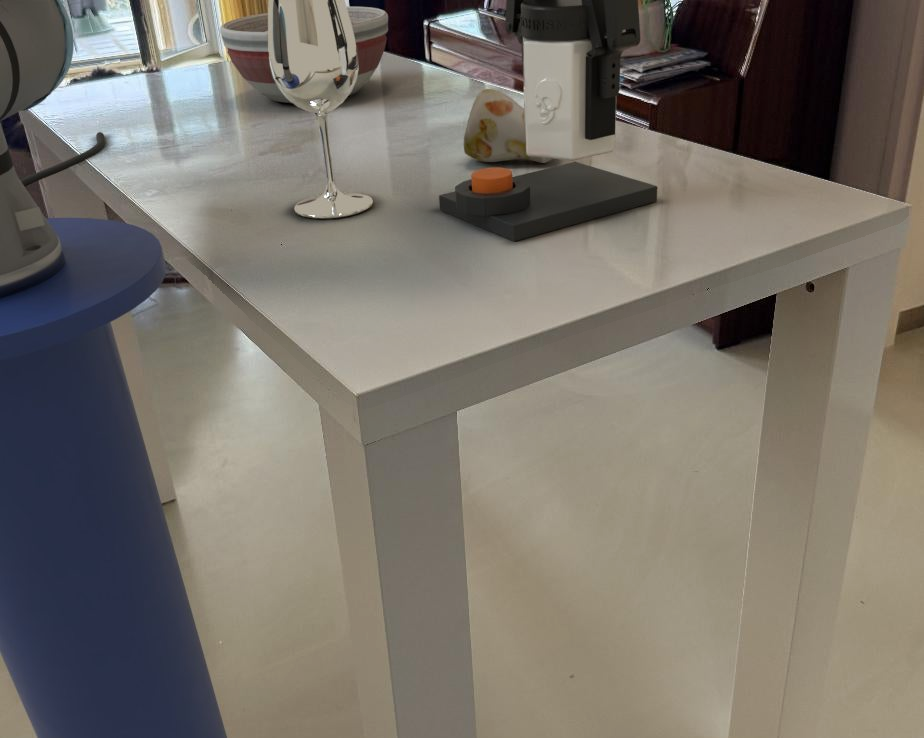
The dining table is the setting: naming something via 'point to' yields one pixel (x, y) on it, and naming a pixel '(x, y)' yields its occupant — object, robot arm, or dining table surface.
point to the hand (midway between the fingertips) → (568, 128)
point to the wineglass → (316, 81)
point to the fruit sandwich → (496, 129)
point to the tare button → (491, 180)
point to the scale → (548, 200)
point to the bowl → (252, 52)
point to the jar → (557, 80)
